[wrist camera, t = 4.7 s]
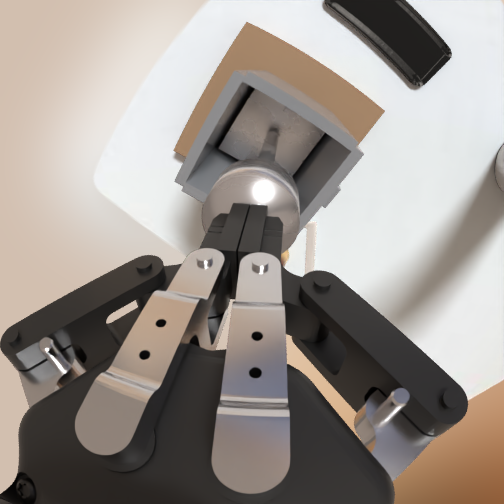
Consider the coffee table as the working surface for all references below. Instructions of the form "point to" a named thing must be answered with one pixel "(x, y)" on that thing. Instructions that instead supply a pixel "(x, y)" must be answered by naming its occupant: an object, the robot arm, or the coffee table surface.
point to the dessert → (309, 248)
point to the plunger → (264, 163)
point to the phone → (397, 35)
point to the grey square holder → (290, 95)
